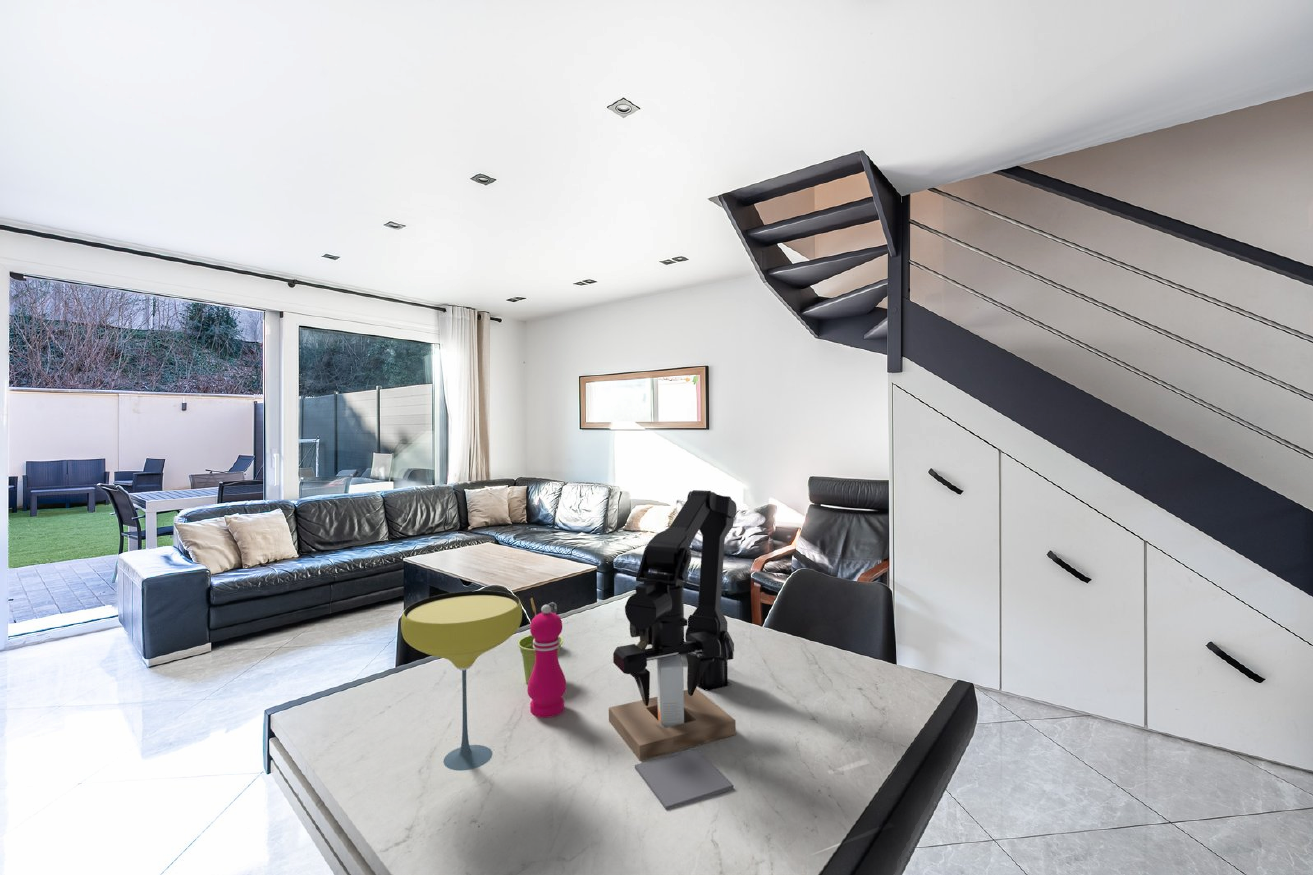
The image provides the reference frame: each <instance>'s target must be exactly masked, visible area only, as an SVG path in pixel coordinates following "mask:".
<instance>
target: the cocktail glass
mask: <svg viewBox="0 0 1313 875" xmlns="http://www.w3.org/2000/svg"><path fill="white" fill-rule="evenodd" d="M522 620H523V608H522V602H521V599H520V598H519V597H518V596H516V595H515V594H512V593H509V592H504V591H497V590H466V591H456V592H450V593H449V592H447V593H443V594H438V595H433V596H430V597H426V598H423V599H421V600H418V601H416V602H414V603H412V604H409V605H408V606H407V607H405V609H404V610H403V612H402V615H401V621H400V623H401V624H400V626H401V627H400V628H401V634H402V638H403V639H404V641H405V642H406V644H408V645H409V646H410V647H412V648H414V649H415V650H417V651H419V652H421V653H423V654H426V655H429V656H433V657H437V658H441V659H446V660H448V661H450V662H451V663H452V665H453V666H454V667H455V668H456V669H457V670H459V671H461V677H462V678H461V680H462V681H461V682H462V683H461V684H462V685H461V686H462V692H461V693H462V726H461V727H462V733H461V735H462V736H461V744H460V745H461V746H459V747H457V748H456V749H453V750H452V751H449V752H448V753H447V754H446V755H445V757H444V758H443V766H444V767H446V768H447V769H449V770H452V771H456V772H457V771H458V772H459V771H464V772H465V771H470V770H474V769H478V768H481V767H482V766H484V765H485V764H487V763H489V762H490V760H491V759H492V757H493V750H492V749H491V748H490V747H488V746H486V745H480V744H470V742H469V734H468V731H469V730H468V704H467V703H468V702H467V696H468V695H467V670H469V669H470V668H471V667H472V666H473V664H474V663H475V662H476V660H477V659H478V658H479V657H480V656H482V655H483V654H485V653H487V652H489V651H491V650H493V649H494V648H496V647H497V646H500V645H501V644H503V643H504V642H506V641H507V640H509V639H510V638H511V637H512V636H513V635H514V634H515V633H516V632H517V630H518V629H519V628H520V626H521V624H522Z"/></svg>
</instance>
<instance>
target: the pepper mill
mask: <svg viewBox="0 0 1313 875" xmlns="http://www.w3.org/2000/svg"><path fill="white" fill-rule="evenodd" d="M549 605H550V604H544V605H542V606H541V608H540V611H541V612H540V613H538V614H536V616H535V615H534V617H533V618H532V620H531V622H530V625H529V630H530V631H529V632H530V635H532V636H533V637H534V638H535V639H534V640H533V643H534V645H533V648H534V649H535V652H536V660H535V666H534V669H533V671H532V674H531V676H530V678H529V682H528V684H527V695H528V697H529V698H530V699H531V701H530V704H529V705H530V707H529V708H530V710H529V711H530V713H531V715H533V716H534V717H535V716H536V717H537V718H551V717H554V716H555V717H556V716H558V715H561V714H562V713H563V711H564V709H565V699H564V698H563V696H564V695H565V693H566V691H567V681H566V676H565V674H564V672H563V670H562V668H561V667H562V666H561V665H560V661H559V657H558V654H557V651H558V647H559V646H560V643H559V641H560V638H559V637H558V636H560V635H561V633H562V632H563V622H562V618H561V617H560V616H559V615H558V614H555V613H556V612H553V611H552V607H551V606H549ZM550 611H551V612H550Z"/></svg>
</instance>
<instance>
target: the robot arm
mask: <svg viewBox="0 0 1313 875" xmlns="http://www.w3.org/2000/svg"><path fill="white" fill-rule="evenodd" d="M686 498H687V499H686V500H685V502H684V504H683V505H682V506H681V509H680V510H679V512H678V513H677V514H676V516H675V518H674V519H673V521H672V522H671V524H670V525H669V527H668V528H667V529H665V530H662V531H659V532H658V533H656V534H655V535H654V537H652V539H650V540H649V542H648V543H647V545H646V546H645V548H644V550H643V553H642V556H641V560H640V564H639V568H638V570H637V574H636V577H635V582H638V583H639V584H637V585H635V593H633V594H631V595H630V596H629V598H628V599H627V600H626V604H625V606H624V611H625V616H626V619H627V621H628V622H629V633H630V637H631V638H639V641H645V640H646V644H648V645H647V646H650V645H651V647H649V648H645V649H643V650H641V649H640V648H639V647H638V646H637V644H635V643H631V644H627V645H626V644H625V645H621V646H617V647H616V648H615V649H614V651H613V653H612V654H613V655H612V658H613V659H612V661H613V662H612V663H613V664H614V665H615V666H616V667H617V668H618V669H619V670H620V671H621V672H622V673H623V674H625V675H630V676H631V677H633V679H634V680H635V683H636V685H637V688H638V691H639V695H640V697H641V700H643V703H644V705H645V706H648V704H649V698H650V693H651V692H650V687H651V686H650V684H651V682H650V681H651V671H650V670H648V669H647V666H648V662H650V661H653V660H657V659H660V658H665V657H670V656H675V655H684V654H685V657H686V661H687V679H686V680H687V681H686V686H687V687H686V688H687V689H686V690H688V694H689V695H690V696H692V695H693V693H694V691H695V689H696V688H697V687H698V688H701V689H702V691H705V692H709V691H712V690H717V689H721V688H726V687H730V686H732V683H731V682H729V676H728V674H729V673H728V672H729V670H728V668H729V667H728V661H729V660H733V659H734V652H735V643H734V641H733V639H732V636H731V635H730V633H729V632H728V620H727V618H726V616H725V614H724V613H723V610H722V607H721V605H722V587H723V573H724V572H723V571H724V558H725V557H724V556H725V541H726V537H727V536H728V535H729V533H730V531H731V530H732V529H733V528H734V521H735V518H736V515H737V511H738V509H737V503H736V501H734V500H732V497H731V496H729V495H722V494H721V495H720V494H717V493H715V492H713V491H711V490H703V489H702V490H701V489H699V490H695V489H694V490H690V491H689V492H688V493H687V497H686ZM698 532H700V533H701V535H702V536H701V537H702V540H701V556H700V557H701V558H700V568H699V569H700V571H699V572H700V573H699V582H698V595H697V596H698V601H697V607H696V608H695V610H694V612H693V613H692V614H690V615H689V616H688V618H686V617H685V611H684V610H685V608H684V607H685V605H684V604H685V603H684V602H685V601H684V600H685V598H684V597H685V596H684V592H685V591H684V590H685V589H684V588H685V586H684V582H685V581H687V580H688V579H687V573H688V571H689V568H690V564H691V562H692V552H691V545H692V542H693V541H694V539H695V537H697V534H698ZM657 572H660V573H664V574H658V573H657ZM686 626H687V627H686ZM685 627H686V630H685Z"/></svg>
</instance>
